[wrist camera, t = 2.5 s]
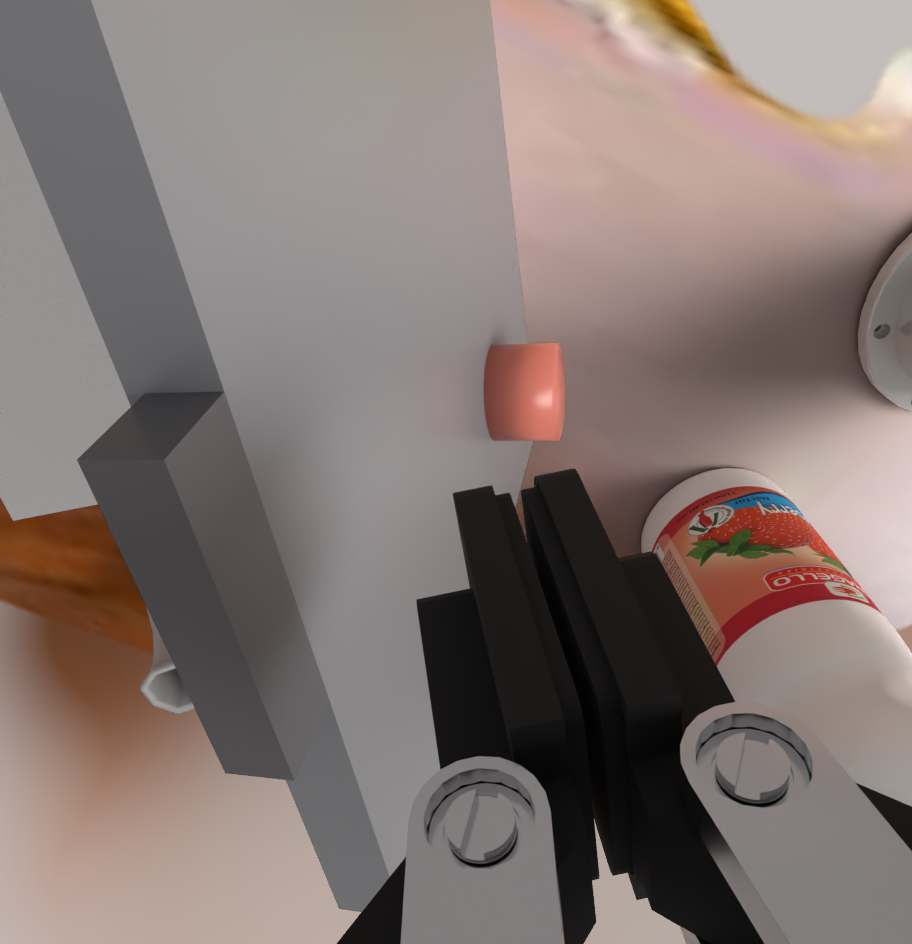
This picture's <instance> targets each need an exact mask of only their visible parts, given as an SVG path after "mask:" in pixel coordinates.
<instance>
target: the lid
mask: <svg viewBox="0 0 912 944" xmlns="http://www.w3.org/2000/svg"><path fill="white" fill-rule="evenodd" d="M0 92H1V94H2V97H3V99H4V102H5V104H6V106H7V109H8V111H9V114H10V116H11V119H12V121H13V123H14V126H15V128H16V131H17V133H18V135H19V138H20V140H21V143H22V145H23V147H24V150H25V152H26V155H27V157H28V160H29V162H30V164H31V167H32V169H33V172H34V174H35V176H36V179H37V181H38V184H39V186H40V188H41V191H42V193H43V196H44V198H45V201H46V203H47V205H48V208H49V210H50V213H51V215H52V217H53V220H54V222H55V225H56V227H57V229H58V232H59V234H60V237H61V239H62V241H63V244H64V246H65V249H66V251H67V254H68V256H69V258H70V261H71V263H72V266H73V268H74V270H75V273H76V275H77V278H78V280H79V282H80V285H81V287H82V290H83V292H84V295H85V297H86V299H87V302H88V304H89V307H90V309H91V311H92V314H93V316H94V319H95V321H96V323H97V326H98V328H99V331H100V333H101V336H102V338H103V340H104V343H105V345H106V348H107V350H108V352H109V355H110V357H111V360H112V362H113V364H114V367H115V369H116V372H117V374H118V376H119V379H120V381H121V384H122V386H123V389H124V391H125V393H126V396H127V398H128V401H129V403H130V405H131V407H130V408H129V409H128V410H127V411H126V412H125V413H124V414H123V415H122V416H121V417H120V418H119V419H118V420H117V421H116V422H115V423H114V424H113V425H112V426H111V427H110V428H109V429H108V430H107V431H106V432H105V433H104V434H103V435H102V436H101V437H100V438H99V439H98V440H96V441H95V442H94V443H93V444H92V445H91V446H90V447H89V448H88V449H87V450H86V451H85V452H84V453H83V454H82V455H81V456H80V457H79V458H78V459H77V461H78V463H79V466H80V468H81V470H82V472H83V474H84V476H85V478H86V480H87V482H88V485H89V487H90V489H91V491H92V493H93V495H94V497H95V499H96V501H97V503H98V506H99V508H100V510H101V512H102V514H103V516H104V518H105V520H106V522H107V525H108V527H109V529H110V531H111V533H112V535H113V537H114V539H115V541H116V544H117V546H118V548H119V550H120V552H121V554H122V556H123V558H124V560H125V562H126V565H127V567H128V569H129V571H130V573H131V575H132V577H133V579H134V581H135V584H136V586H137V588H138V590H139V592H140V594H141V596H142V598H143V600H144V603H145V605H146V607H147V609H148V611H149V613H150V615H151V617H152V619H153V621H154V624H155V626H156V628H157V630H158V632H159V634H160V636H161V638H162V640H163V643H164V645H165V647H166V649H167V651H168V653H169V655H170V657H171V659H172V662H173V664H174V666H175V668H176V670H177V672H178V674H179V676H180V678H181V680H182V683H183V685H184V687H185V689H186V691H187V693H188V695H189V697H190V699H191V702H192V704H193V706H194V708H195V710H196V712H197V714H198V716H199V718H200V720H201V723H202V725H203V727H204V729H205V731H206V733H207V735H208V737H209V739H210V742H211V744H212V746H213V748H214V750H215V752H216V754H217V756H218V758H219V761H220V762H221V764H222V767H223V769H224V771H225V773H229V774H238V775H248V776H257V777H267V778H276V779H284V780H286V782H287V784H288V786H289V789H290V791H291V794H292V796H293V798H294V801H295V803H296V805H297V808H298V810H299V813H300V815H301V817H302V820H303V822H304V825H305V827H306V830H307V832H308V835H309V837H310V839H311V842H312V844H313V846H314V849H315V851H316V854H317V856H318V859H319V861H320V863H321V866H322V868H323V871H324V873H325V876H326V878H327V880H328V883H329V885H330V888H331V890H332V892H333V895H334V897H335V900H336V902H337V904H338V907H339V909H345V910H351V911H358V912H362V911H363V910H364V909H365V907H366V906H367V905H368V904H369V902H370V901H371V900H372V899H373V897H374V896H375V895H376V894H377V892H378V891H379V890H380V889H381V887H382V886H383V885H384V884H385V882H386V881H387V880H388V878H389V877H390V876H391V875H392V873H393V872H394V871H395V870H396V868H397V867H398V866H399V865H400V863H401V862H402V861H403V860H404V858H405V857H406V852H407V836H408V822H409V817H410V813H411V809H412V804H413V801H414V800H415V798H416V796H417V795H418V793H419V791H420V790H421V788H422V786H423V785H424V784H425V783H426V782H427V781H428V780H429V779H430V778H431V777H432V776H433V775H435V774H436V773H437V772H438V771H439V770H440V764H439V757H438V750H437V743H436V736H435V729H434V722H433V715H432V708H431V701H430V694H429V687H428V680H427V674H426V667H425V660H424V653H423V646H422V639H421V632H420V625H419V618H418V611H417V602H416V599H421V598H426V597H431V596H436V595H441V594H446V593H451V592H455V591H460V590H465V589H470V586H469V580H468V575H467V570H466V564H465V559H464V553H463V548H462V543H461V537H460V532H459V526H458V521H457V516H456V510H455V505H454V499H453V493H455V492H460V491H465V490H470V489H475V488H480V487H485V486H490V485H492V486H493V489H494V492H495V495H499V494H504V493H510V495H511V497H512V500H513V503H514V506H515V507H516V504H517V500H518V496H519V493H520V489H521V485H522V482H523V478H524V474H525V470H526V467H527V463H528V459H529V456H530V452H531V448H532V445H533V441H559V440H560V438H561V435H562V431H563V424H564V413H565V375H564V363H563V356H562V351H561V347H560V345H559V343H531V344H528V340H527V331H526V322H525V313H524V304H523V295H522V285H521V276H520V267H519V258H518V249H517V240H516V231H515V222H514V213H513V204H512V195H511V186H510V177H509V168H508V159H507V150H506V141H505V132H504V123H503V114H502V105H501V96H500V87H499V78H498V69H497V60H496V51H495V42H494V32H493V23H492V14H491V5H490V0H0Z"/></svg>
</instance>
